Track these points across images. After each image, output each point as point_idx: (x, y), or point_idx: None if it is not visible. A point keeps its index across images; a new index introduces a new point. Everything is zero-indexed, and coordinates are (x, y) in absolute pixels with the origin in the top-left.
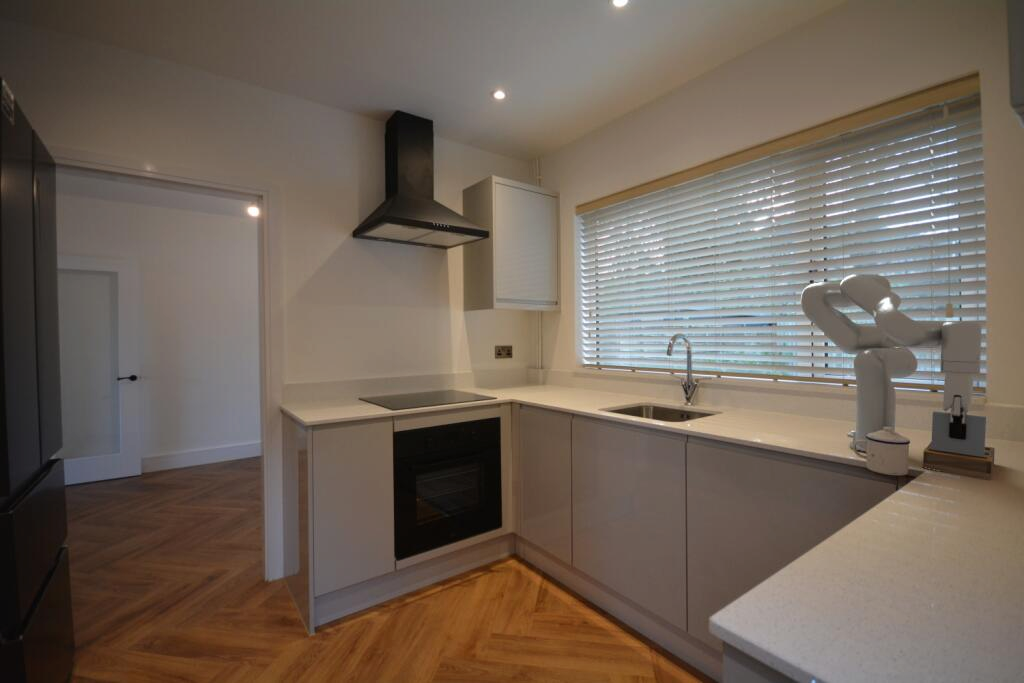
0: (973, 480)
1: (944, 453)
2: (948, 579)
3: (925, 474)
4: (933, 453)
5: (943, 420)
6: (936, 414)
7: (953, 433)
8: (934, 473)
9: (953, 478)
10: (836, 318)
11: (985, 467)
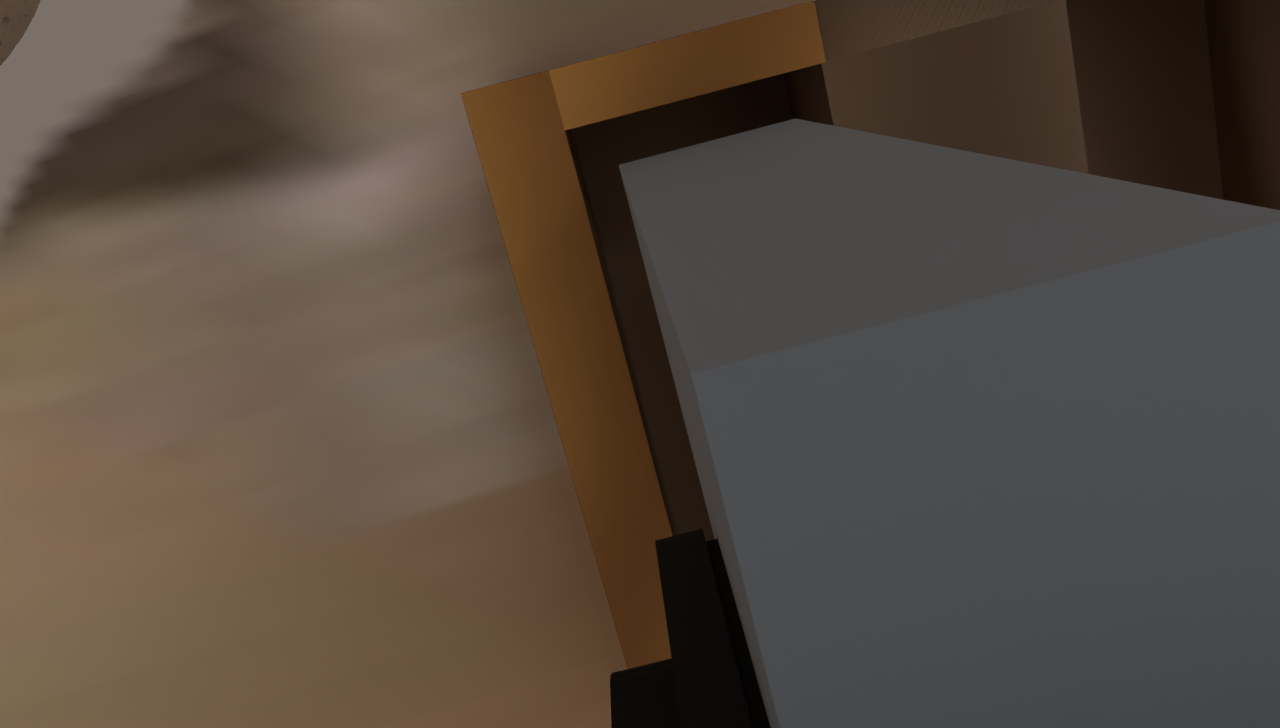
0: (457, 623)
1: (575, 375)
2: None
3: (178, 243)
4: (508, 235)
5: (745, 621)
6: (723, 504)
7: (619, 690)
8: (354, 281)
9: (325, 487)
10: None
11: None
